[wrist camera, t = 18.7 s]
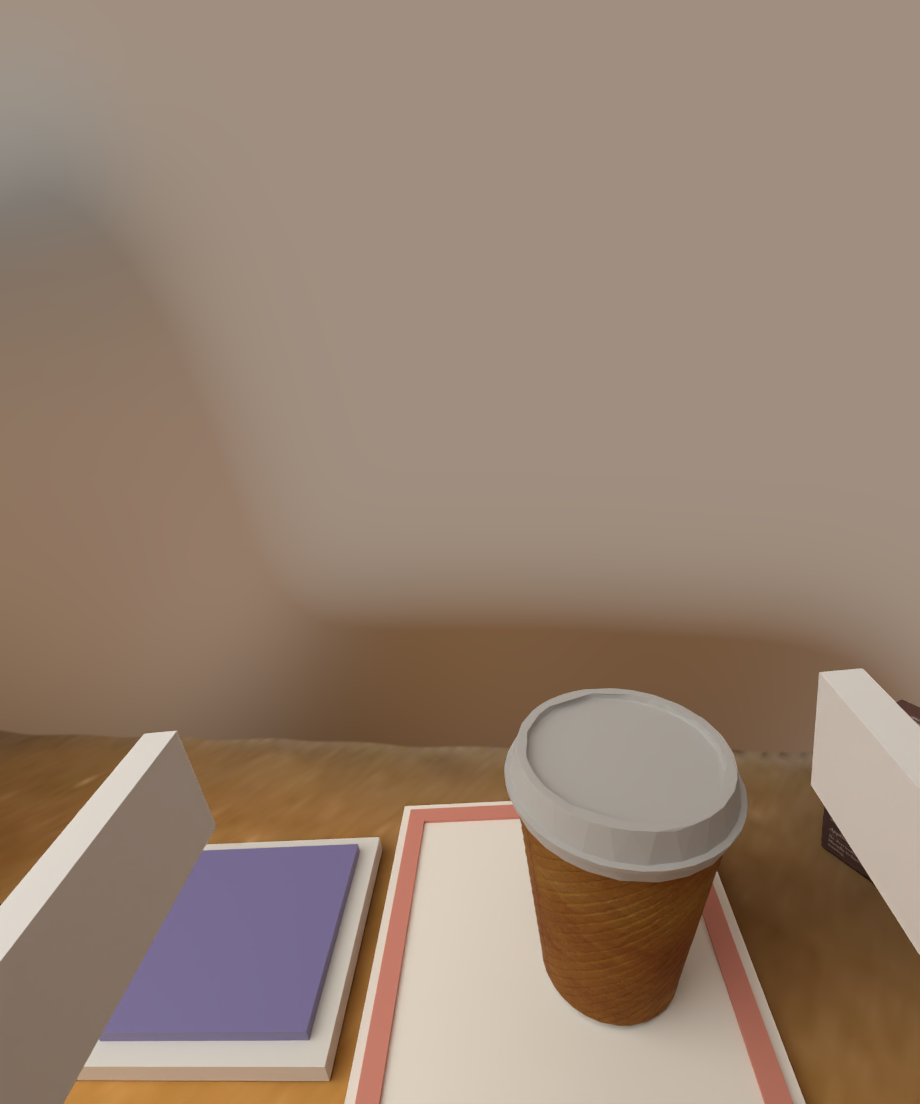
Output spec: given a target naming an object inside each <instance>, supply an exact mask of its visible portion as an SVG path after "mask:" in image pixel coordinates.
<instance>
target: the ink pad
mask: <svg viewBox="0 0 920 1104" xmlns="http://www.w3.org/2000/svg"><path fill="white" fill-rule="evenodd" d="M381 854H382V845H381V841H380V837H371V838H347V839H324V840H301V841H278V842H255V843H232V844H209V845H206V846H205V847H204V849H203V851H202V853H201V855H200V856H199V858H198V860H197V862H196V864H195V866H194V867H193V869H192V871H191V873H190V875H189V876H188V878H187V880H186V882H185V884H184V886H183V887H182V889H181V891H180V893H179V895H178V896H177V898H176V900H175V902H174V904H173V905H172V907H171V909H170V911H169V913H168V915H167V916H166V918H165V920H164V922H163V924H162V925H161V927H160V929H159V931H158V933H157V935H156V936H155V938H154V940H153V942H152V944H151V945H150V947H149V949H148V951H147V953H146V954H145V956H144V958H143V960H142V962H141V964H140V965H139V967H138V969H137V971H136V973H135V974H134V976H133V978H132V980H131V982H130V984H129V985H128V987H127V989H126V991H125V993H124V994H123V996H122V998H121V1000H120V1002H119V1003H118V1005H117V1007H116V1009H115V1011H114V1013H113V1014H112V1016H111V1018H110V1020H109V1022H108V1023H107V1025H106V1027H105V1029H104V1031H103V1033H102V1034H101V1036H100V1038H99V1040H98V1042H97V1043H96V1045H95V1047H94V1049H93V1051H92V1053H91V1054H90V1056H89V1058H88V1060H87V1062H86V1063H85V1065H84V1067H83V1069H82V1071H81V1072H80V1074H79V1076H78V1078H77V1080H141V1081H330V1077H331V1072H332V1068H333V1064H334V1059H335V1055H336V1051H337V1046H338V1042H339V1037H340V1033H341V1029H342V1024H343V1020H344V1016H345V1011H346V1007H347V1002H348V998H349V994H350V989H351V985H352V981H353V976H354V972H355V967H356V963H357V959H358V954H359V950H360V946H361V941H362V937H363V932H364V928H365V924H366V919H367V915H368V911H369V906H370V902H371V897H372V893H373V889H374V884H375V880H376V876H377V871H378V867H379V862H380V858H381Z"/></svg>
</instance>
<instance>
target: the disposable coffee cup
mask: <svg viewBox="0 0 920 1104" xmlns="http://www.w3.org/2000/svg"><path fill="white" fill-rule="evenodd" d="M504 768H505V781H506V787H507V791H508V795H509V797H510V799H511V801H512V803H513V805H514V808H515V810H516V812H517V813H518V815H519V816H520V821H521V824H522V827H521V828H522V833H523V840H524V845H525V853H526V856H527V863H528V868H529V876H530V882H531V887H532V894H533V898H534V906H535V912H536V917H537V924H538V931H539V936H540V943H541V949H542V956H543V962H544V965H545V968H546V972H547V974H548V976H549V978H550V980H551V981H552V983H553V985H554V987H555V988H556V990H557V991H558V992H559V994H560V995H561V996H562V997H563V998H564V999H565V1000H566V1001H567V1002H568V1003H569V1004H570V1005H571V1006H572V1007H573V1008H575V1009H576V1010H578V1011H579V1012H581V1013H582V1014H584V1015H585V1016H587V1017H589V1018H592V1019H594V1020H596V1021H599V1022H601V1023H606V1024H612V1025H617V1026H632V1025H636V1024H640V1023H644V1022H647V1021H649V1020H651V1019H653V1018H655V1017H656V1016H658V1015H659V1014H661V1013H662V1012H663V1011H664V1010H665V1009H666V1008H667V1007H668V1005H669V1004H670V1002H671V1001H672V999H673V998H674V995H675V992H676V989H677V987H678V983H679V979H680V977H681V974H682V971H683V968H684V965H685V962H686V959H687V956H688V953H689V950H690V947H691V944H692V942H693V939H694V936H695V933H696V930H697V927H698V924H699V921H700V918H701V915H702V913H703V910H704V907H705V904H706V901H707V899H708V896H709V893H710V890H711V887H712V883H713V880H714V877H715V875H716V872H717V869H718V866H719V864H720V861H721V858H722V855H723V854H724V853H725V852H726V851H727V850H728V848H729V847H730V846H731V845H732V844H733V843H734V842H735V841H736V839H737V838H738V837H739V836H740V834H741V831H742V829H743V826H744V823H745V820H746V817H747V807H748V800H747V794H746V789H745V785H744V783H743V781H742V779H741V776H740V774H739V772H738V769H737V765H736V761H735V758H734V754H733V752H732V751H731V749H730V747H729V746H728V744H727V743H726V741H725V740H724V738H723V737H722V735H721V734H720V733H718V732H717V731H716V730H715V729H714V728H713V727H712V726H711V725H710V724H709V723H708V722H707V721H706V720H705V719H703V718H701V717H700V716H698V715H696V714H694V713H693V712H691V711H690V710H688V709H686V708H684V707H683V706H681V705H679V704H676V703H673V702H671V701H668V700H666V699H663V698H660V697H658V696H655V695H651V694H647V693H642V692H637V691H632V690H625V689H613V688H609V689H588V690H579V691H575V692H570V693H566V694H563V695H560V696H558V697H555V698H552V699H550V700H548V701H546V702H545V703H543V704H541V705H539V706H538V707H537V708H536V709H535V710H534V711H532V712H531V713H530V714H529V716H528V717H527V718H526V719H525V720H524V722H523V723H522V724H521V728H520V730H519V733H518V736H517V738H516V739H515V740H514V742H513V744H512V746H511V747H510V749H509V751H508V754H507V758H506V763H505V767H504Z"/></svg>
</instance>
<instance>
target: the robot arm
mask: <svg viewBox="0 0 920 1104" xmlns="http://www.w3.org/2000/svg"><path fill="white" fill-rule="evenodd" d="M811 786H812V787H813V789H814V790H815V792H816V794H817V795H818V797H819V798H820V800H821V801H822V803H823V805H824V806H825V808H826V809H827V811H828V812H829V814H830V816H831V817H832V819H833V820H834V822H835V823H836V825H837V827H838V828H839V830H840V831H841V833H842V834H843V836H844V837H845V839H846V841H847V842H848V844H849V845H850V847H851V848H852V850H853V852H854V853H855V855H856V856H857V858H858V859H859V861H860V863H861V864H862V866H863V867H864V869H865V870H866V872H867V874H868V875H869V877H870V878H871V880H872V881H873V883H874V885H875V886H876V888H877V889H878V891H879V892H880V894H881V895H882V897H883V899H884V900H885V902H886V903H887V905H888V906H889V908H890V910H891V911H892V913H893V914H894V916H895V917H896V919H897V921H898V922H899V924H900V925H901V927H902V928H903V930H904V932H905V933H906V935H907V936H908V938H909V939H910V941H911V942H912V944H913V946H914V947H915V949H916V950H917V952H918V953H919V955H920V726H919V725H918V724H917V723H916V722H915V721H914V720H913V719H912V718H911V717H910V716H909V715H908V714H907V713H906V712H905V711H904V710H903V709H902V708H901V707H900V706H899V705H898V704H897V703H896V702H895V701H894V700H893V699H892V698H891V697H890V696H889V695H888V694H887V693H886V692H885V691H884V690H883V689H882V688H881V687H880V686H879V685H878V684H877V683H876V682H875V681H874V680H873V679H872V678H871V677H870V676H869V675H868V674H867V673H866V672H865V671H864V669H851V670H840V671H829V672H819V684H818V697H817V710H816V724H815V737H814V750H813V763H812V777H811ZM215 827H216V824H215V822H214V819H213V817H212V814H211V812H210V810H209V807H208V805H207V802H206V800H205V797H204V795H203V793H202V790H201V788H200V785H199V783H198V780H197V778H196V776H195V773H194V771H193V768H192V766H191V764H190V761H189V759H188V756H187V754H186V751H185V749H184V747H183V744H182V742H181V739H180V737H179V734H178V732H177V731H169V732H158V733H147V734H144V735H143V736H142V737H141V738H140V740H139V741H138V742H137V743H136V744H135V746H134V747H133V748H132V749H131V750H130V752H129V753H128V754H127V755H126V756H125V757H124V759H123V760H122V761H121V762H120V763H119V765H118V766H117V767H116V768H115V769H114V771H113V772H112V773H111V774H110V775H109V777H108V778H107V779H106V780H105V781H104V783H103V784H102V785H101V786H100V787H99V789H98V790H97V791H96V792H95V793H94V795H93V796H92V797H91V798H90V799H89V801H88V802H87V803H86V804H85V805H84V807H83V808H82V809H81V810H80V811H79V813H78V814H77V815H76V816H75V817H74V818H73V820H72V821H71V822H70V823H69V824H68V826H67V827H66V828H65V829H64V830H63V832H62V833H61V834H60V835H59V836H58V838H57V839H56V840H55V841H54V842H53V844H52V845H51V846H50V847H49V848H48V850H47V851H46V852H45V853H44V854H43V856H42V857H41V858H40V859H39V860H38V862H37V863H36V864H35V865H34V866H33V868H32V869H31V870H30V871H29V872H28V873H27V875H26V876H25V877H24V878H23V879H22V881H21V882H20V883H19V884H18V885H17V887H16V888H15V889H14V890H13V891H12V893H11V894H10V895H9V896H8V897H7V899H6V900H5V901H4V902H3V903H2V904H0V1104H63V1103H64V1102H65V1100H66V1098H67V1096H68V1094H69V1092H70V1091H71V1089H72V1087H73V1085H74V1083H75V1082H76V1080H77V1078H78V1076H79V1074H80V1072H81V1071H82V1069H83V1067H84V1065H85V1063H86V1062H87V1060H88V1058H89V1056H90V1054H91V1053H92V1051H93V1049H94V1047H95V1045H96V1043H97V1042H98V1040H99V1038H100V1036H101V1034H102V1033H103V1031H104V1029H105V1027H106V1025H107V1023H108V1022H109V1020H110V1018H111V1016H112V1014H113V1013H114V1011H115V1009H116V1007H117V1005H118V1003H119V1002H120V1000H121V998H122V996H123V994H124V993H125V991H126V989H127V987H128V985H129V984H130V982H131V980H132V978H133V976H134V974H135V973H136V971H137V969H138V967H139V965H140V964H141V962H142V960H143V958H144V956H145V954H146V953H147V951H148V949H149V947H150V945H151V944H152V942H153V940H154V938H155V936H156V935H157V933H158V931H159V929H160V927H161V925H162V924H163V922H164V920H165V918H166V916H167V915H168V913H169V911H170V909H171V907H172V905H173V904H174V902H175V900H176V898H177V896H178V895H179V893H180V891H181V889H182V887H183V886H184V884H185V882H186V880H187V878H188V876H189V875H190V873H191V871H192V869H193V867H194V866H195V864H196V862H197V860H198V858H199V856H200V855H201V853H202V851H203V849H204V847H205V846H206V844H207V842H208V840H209V838H210V836H211V835H212V833H213V831H214V829H215Z"/></svg>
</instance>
